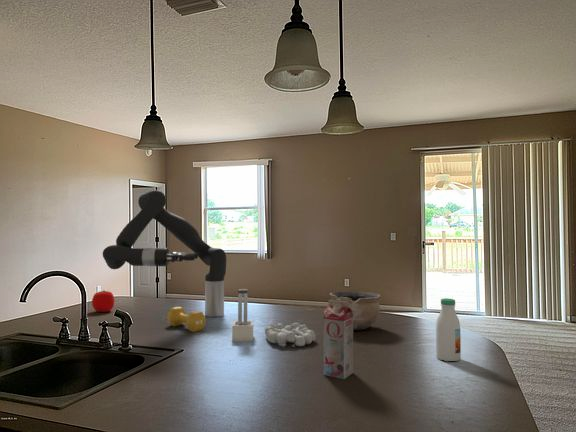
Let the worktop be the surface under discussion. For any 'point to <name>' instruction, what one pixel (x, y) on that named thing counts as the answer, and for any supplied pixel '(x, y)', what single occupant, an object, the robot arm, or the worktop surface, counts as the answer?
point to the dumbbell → (186, 319)
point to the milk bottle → (448, 332)
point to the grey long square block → (240, 292)
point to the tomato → (103, 301)
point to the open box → (242, 331)
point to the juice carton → (338, 339)
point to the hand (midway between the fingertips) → (196, 256)
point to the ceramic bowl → (360, 307)
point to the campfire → (290, 334)
